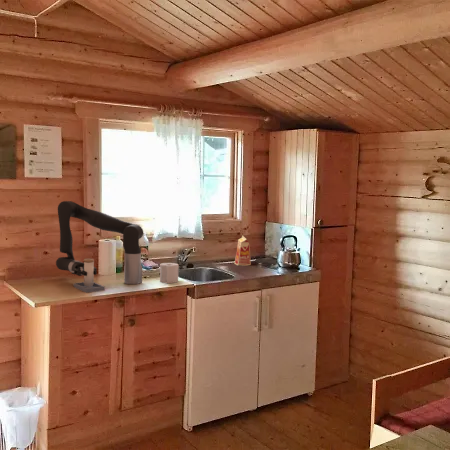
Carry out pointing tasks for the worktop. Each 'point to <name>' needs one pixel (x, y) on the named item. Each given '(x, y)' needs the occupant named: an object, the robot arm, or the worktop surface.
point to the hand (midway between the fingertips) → (91, 273)
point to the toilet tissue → (169, 272)
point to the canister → (89, 272)
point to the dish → (89, 287)
